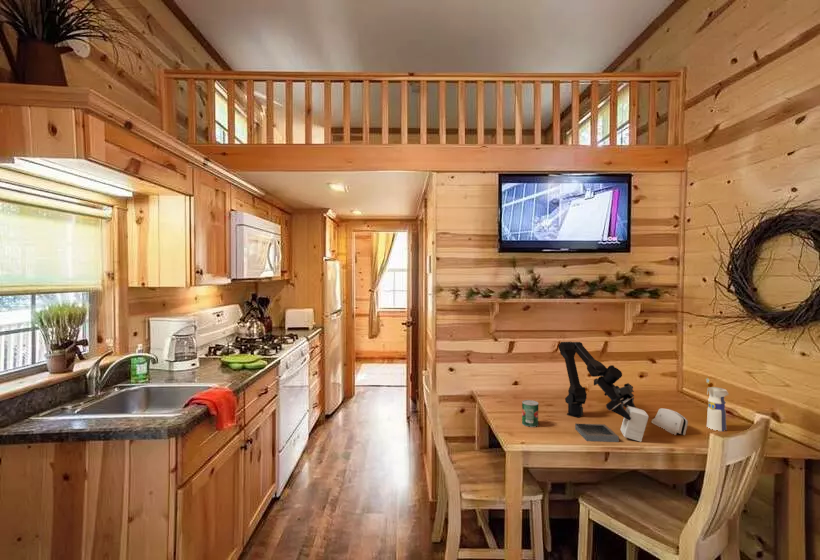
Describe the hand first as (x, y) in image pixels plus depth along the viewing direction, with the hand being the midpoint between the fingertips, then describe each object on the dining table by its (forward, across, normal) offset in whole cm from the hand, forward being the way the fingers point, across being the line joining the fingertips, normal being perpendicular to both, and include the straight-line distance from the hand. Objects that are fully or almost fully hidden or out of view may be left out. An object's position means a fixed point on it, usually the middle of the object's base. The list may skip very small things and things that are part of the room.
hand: (634, 417), depth 176 cm
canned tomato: (-22, -21, +35) cm, 47 cm away
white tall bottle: (+22, +46, -7) cm, 51 cm away
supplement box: (+5, 0, +8) cm, 9 cm away
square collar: (-2, -9, +16) cm, 19 cm away
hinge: (+12, +28, +3) cm, 30 cm away
